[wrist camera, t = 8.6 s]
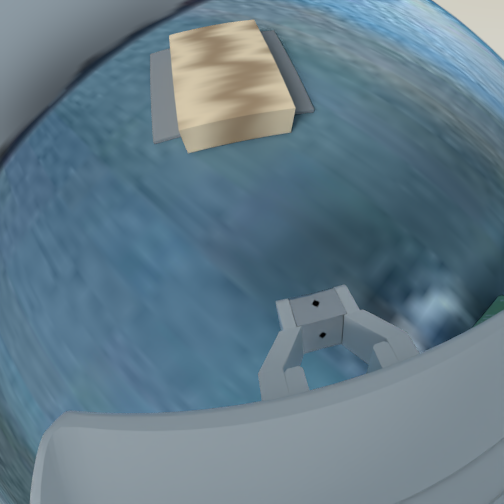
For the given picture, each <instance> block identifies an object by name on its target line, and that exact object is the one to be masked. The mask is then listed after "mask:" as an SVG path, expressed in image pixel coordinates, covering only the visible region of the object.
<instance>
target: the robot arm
mask: <svg viewBox="0 0 504 504" xmlns="http://www.w3.org/2000/svg"><path fill="white" fill-rule="evenodd" d="M276 307H277V313H278V318H279V324H280V329H281V331H279V333H278V335H277V337H276V339H275V341H274V343H273V345H272V347H271V349H270V351H269V353H268V355H267V357H266V359H265V361H264V363H263V365H262V367H261V369H260V371H259V373H258V377H259V384H260V391H261V397H262V401H259V402H253V403H247V404H241V405H235V406H228V407H220V408H212V409H203V410H192V411H180V412H163V413H97V412H82V411H66V412H64V413H63V414H62V415H60V416H59V417H58V418H57V419H56V420H55V421H54V422H53V424H52V425H51V426H50V427H49V428H48V429H47V430H46V431H45V433H44V434H43V437H42V439H41V442H40V445H39V448H38V452H37V457H36V461H35V466H34V472H33V478H32V485H31V496H30V504H504V310H502V311H501V312H499V313H497V314H496V315H494V316H492V317H491V318H489V319H487V320H486V321H484V322H482V323H480V324H478V325H477V326H475V327H473V328H471V329H469V330H467V331H466V332H464V333H462V334H460V335H458V336H456V337H454V338H452V339H450V340H448V341H446V342H444V343H442V344H439V345H437V346H435V347H433V348H431V349H428V350H426V351H424V352H422V353H419V352H418V350H417V348H416V346H415V345H414V343H413V341H412V340H411V338H410V336H409V335H408V333H407V332H406V331H404V330H402V329H400V328H398V327H396V326H394V325H392V324H390V323H388V322H387V321H385V320H383V319H381V318H379V317H377V316H375V315H373V314H371V313H369V312H367V311H365V310H360V309H359V307H358V306H357V304H356V302H355V300H354V299H353V297H352V295H351V293H350V292H349V290H348V288H347V286H346V285H341V286H337V287H333V288H330V289H326V290H322V291H318V292H314V293H311V294H306V295H301V296H297V297H292V298H288V299H283V300H278V301H276ZM338 344H342V345H343V346H345V347H346V348H347V349H349V350H350V351H351V352H353V353H354V354H355V355H357V356H358V357H359V358H361V359H362V360H363V361H365V362H366V363H367V364H369V366H368V369H367V373H366V374H364V375H361V376H358V377H355V378H352V379H349V380H346V381H342V382H339V383H336V384H332V385H329V386H325V387H321V388H318V389H314V390H310V391H309V387H308V384H307V381H306V377H305V374H304V370H303V368H302V367H300V364H301V361H302V358H303V355H304V354H305V353H308V352H312V351H315V350H319V349H322V348H326V347H330V346H334V345H338Z"/></svg>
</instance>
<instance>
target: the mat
mask: <svg viewBox="0 0 504 504" xmlns="http://www.w3.org/2000/svg"><path fill="white" fill-rule="evenodd" d="M261 34H262V36H263V38H264V40H265V42H266V44H267V46H268V48H269V50H270V52H271V54H272V56H273V58H274V60H275V63H276V65H277V67H278V69H279V71H280V73H281V75H282V78H283V80H284V82H285V84H286V87H287V89H288V91H289V94H290V96H291V98H292V101H293V103H294V105H295V108H296V109H295V114H302V113H311V112H314V108H313V106H312V103H311V101H310V99H309V97H308V95H307V93H306V91H305V88H304V86H303V84H302V82H301V80H300V78H299V76H298V74H297V72H296V70H295V68H294V66H293V64H292V62H291V60H290V59H289V57H288V55H287V53H286V51H285V49H284V47H283V46H282V44H281V42H280V40H279V38H278V37H277V35H276V33H275V31H262V32H261ZM150 85H151V113H152V130H153V142H154V144H156V143H160V142H163V141H167V140H170V139H174V138H178V137H181V135H180V132H179V129H178V121H177V112H176V104H175V95H174V85H173V75H172V65H171V53H170V49H166V50H163V51H159V52H156V53H152V54H150Z"/></svg>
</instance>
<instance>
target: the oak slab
mask: <svg viewBox="0 0 504 504" xmlns="http://www.w3.org/2000/svg"><path fill="white" fill-rule="evenodd" d="M169 40H170V53H171V65H172V75H173V85H174V95H175V104H176V112H177V121H178V129H179V132H180V135H181V137H182V140H183V142H184V144H185V147H186V149H187V152H188V153H191V152H195V151H199V150H203V149H207V148H211V147H216V146H220V145H225V144H229V143H234V142H239V141H244V140H249V139H254V138H260V137H265V136H271V135H277V134H284V133H290V132H291V129H292V124H293V119H294V114H295V109H296V108H295V105H294V103H293V101H292V98H291V96H290V94H289V91H288V89H287V87H286V84H285V82H284V80H283V78H282V75H281V73H280V71H279V69H278V67H277V65H276V63H275V60H274V58H273V56H272V54H271V52H270V50H269V48H268V46H267V44H266V42H265V40H264V38H263V36H262V34H261V32H260V30H259V28H258V26H257V25H256V23H255V21H254V20H247V21H238V22H231V23H225V24H219V25H213V26H207V27H202V28H198V29H193V30H189V31H184V32H180V33H176V34H172V35H169Z"/></svg>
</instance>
